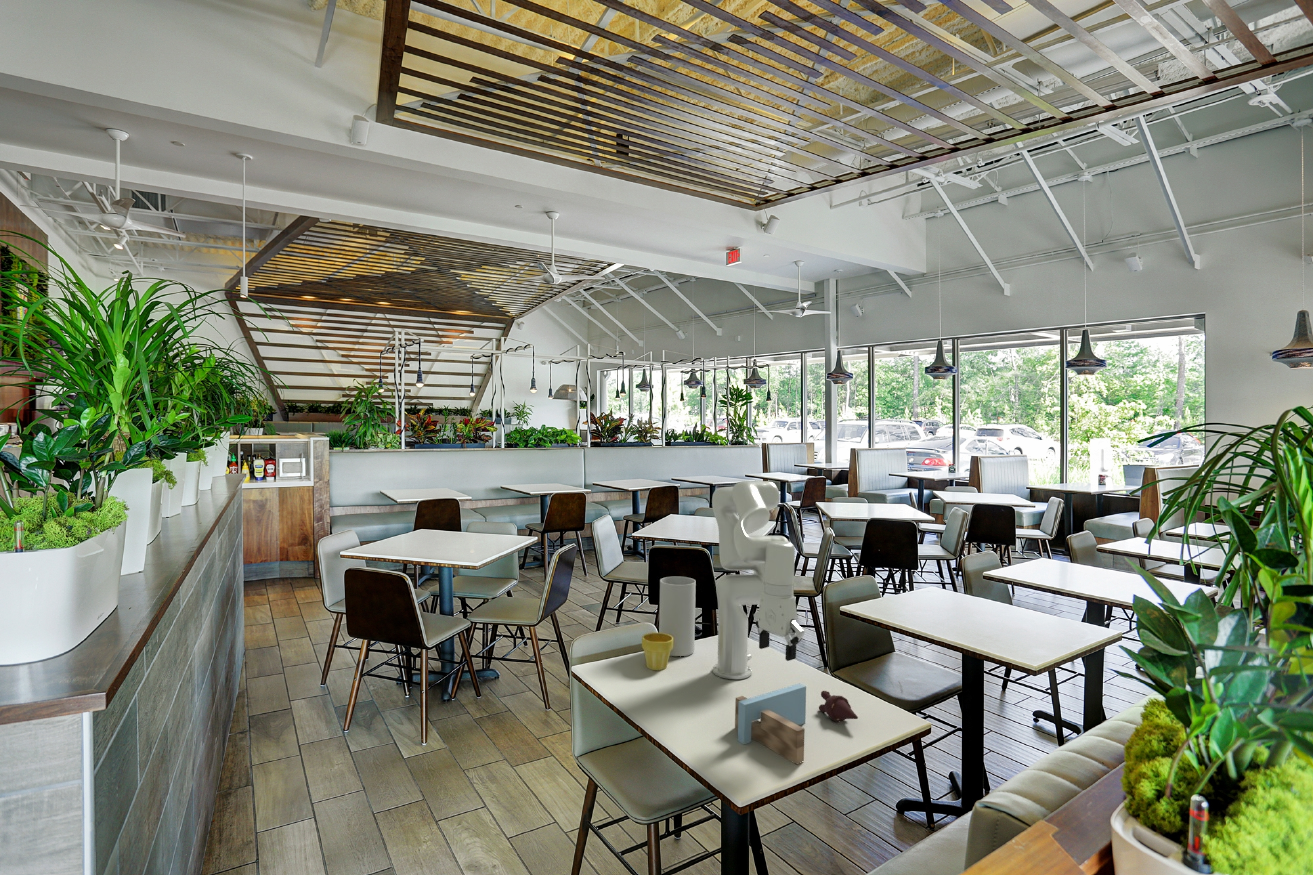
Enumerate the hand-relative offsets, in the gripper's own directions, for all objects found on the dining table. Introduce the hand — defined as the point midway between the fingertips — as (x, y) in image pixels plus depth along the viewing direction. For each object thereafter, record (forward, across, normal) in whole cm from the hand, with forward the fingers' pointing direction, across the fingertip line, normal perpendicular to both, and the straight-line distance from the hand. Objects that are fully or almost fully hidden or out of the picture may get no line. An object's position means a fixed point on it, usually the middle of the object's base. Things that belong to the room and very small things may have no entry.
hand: (777, 653), depth 170 cm
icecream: (+21, +5, +19) cm, 28 cm away
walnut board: (+20, +4, -7) cm, 22 cm away
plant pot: (+21, -53, -1) cm, 57 cm away
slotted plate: (+20, 0, -1) cm, 20 cm away
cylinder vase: (+21, -61, +13) cm, 66 cm away
